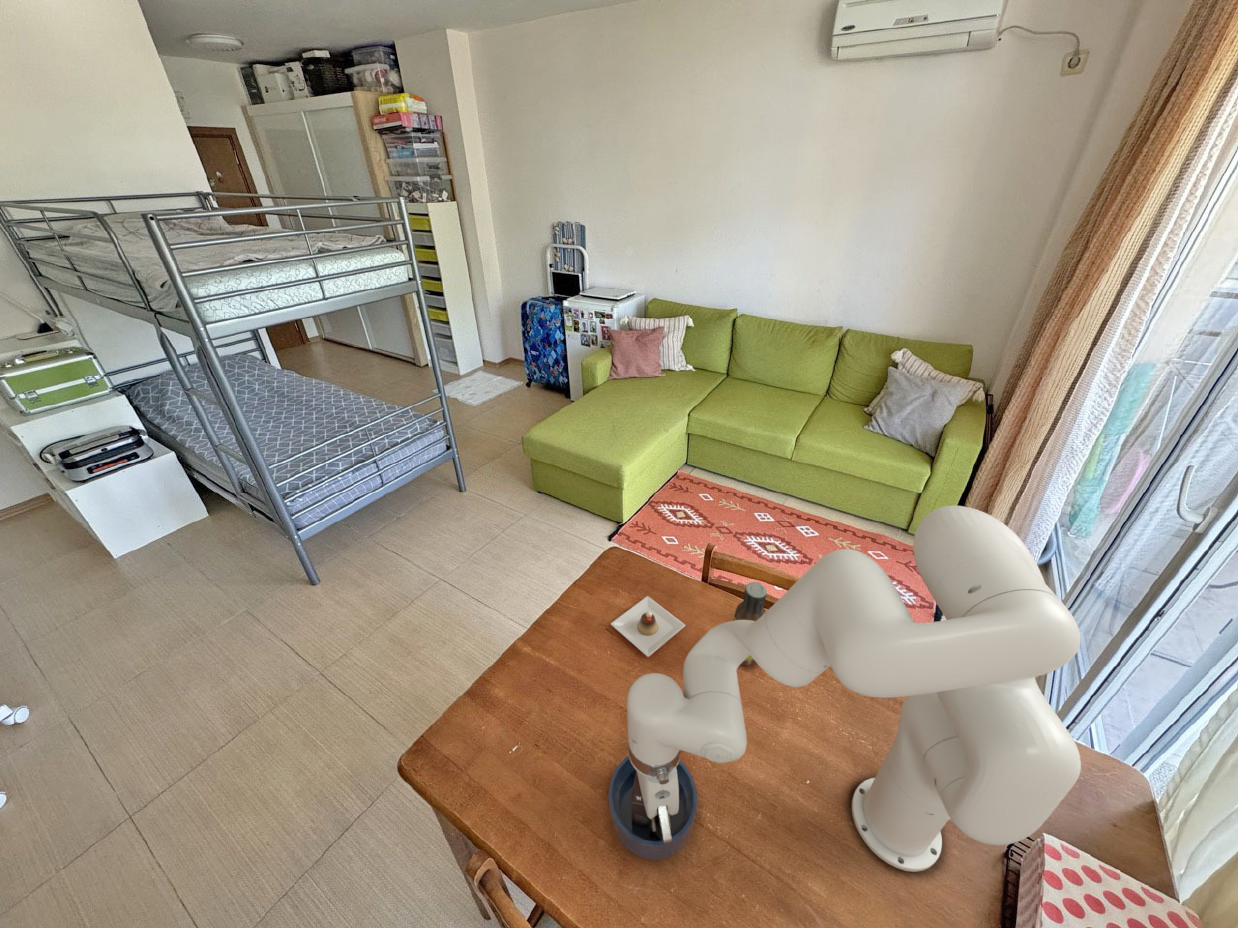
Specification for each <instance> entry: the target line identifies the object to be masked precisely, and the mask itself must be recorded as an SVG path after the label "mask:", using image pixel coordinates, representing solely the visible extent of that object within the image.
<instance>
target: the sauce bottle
mask: <svg viewBox="0 0 1238 928" xmlns="http://www.w3.org/2000/svg"><path fill="white" fill-rule="evenodd" d="M767 594H768V590H767V588H766V587H765V586H764V585H763V584H762V583H760V582H754V581H753V582H749V583H747V584H746V586H745V588H744V597H743V600H742V601H741V602H740V603H738V604H737V606H736V608H735V613H734V614H733V617H732V621H735V620H752V621H757V620H758V619H759V618H760V617H761V616H762V615H763V614H764V613H765V612H766V611H767V610H766V609H765V607H764V604H765V600H766V599H767ZM755 662H756V661H755V660H754V659H753V658H752V656H751V655H750V656H748V657H747V658H746V659H745V660H744V661H743V662H742V663H741V664H740V666H741V665H742V666H749V665H752V664H753V663H755Z"/></svg>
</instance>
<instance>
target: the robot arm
mask: <svg viewBox="0 0 1238 928" xmlns="http://www.w3.org/2000/svg"><path fill="white" fill-rule="evenodd" d="M912 548H913V549H912V551H913V559H914V562H915V566H916V569H917V571H918V573H919V576H920V578H921V580H922V581H923V584H924V585H925V587H926V588H927V590H928V592H929V593H930V595H931V596H932V598H933V600H934V602H935V604H936V605H937V607H938V609H939V610H940V611H941V613H942V614H943V616H944V618H945V619H944V620H938V621H928V622H915V620H914V618H913V616H912V615H911V613H910V611H909V609H908V607H907V606H906V604H905V602H904V600H903V598H902V597H901V595H900V593H899V592H898V590H897V587H896V586H895V584H894V582H893V581H892V579H891V577H889V575H888V574H887V572H886V571H885V570H884V568H883V567H882V566H881V565H879V563H878V562H877V561H875V559H874V558H872V557H871V556H869V555H867V554H865V553H864V552H861V551H859V550H855V549H852V548H840V549H836V550H832V551H831V552H829V553H827V554H825V555H824V556H822V557H821V558H820V559H819V560H817V561H816V562H815V563H813V565H812V566H811V567H810V568H809V569H808V570H807V571H806V572H805V573H804V574H803V575H802V576H801V577H800V578H799V579H798V580H796V582H794V583H793V585H792V586H790V588H789V589H788V590H787V591H785V593H784V594H783V595H781V597H780V598H778V600H777V601H776V602H774V604H772V606H771V607H769V608H768V609H766V610H765V611H766V612H765V613H764V614H763V615H762V616H761V617H760V618H759V619H758V620H757V621H752V620H735V621H733V620H730V621H726V622H722V623H720V624H717V625H715V626H712V627H711V628H710V629H709V630H708V631H707V632H706V633H705V634H704V635H703V636H702V637H701V638H700V639H699V640H698V641H697V642H696V643H695V644H694V645H693V647H692V648H691V649H690V650H689V652H688V653H687V655H686V657H685V659H684V662H683V666H682V667H683V668H682V686H683V687H682V688H683V689H681V687H680V685H679V683H677V681H676V680H674V678H672V677H670V676H668V675H667V674H663V673H661V672H660V673H659V672H650V673H645V674H643V675H641V676H640V677H638V678H636V680H635V681H634V682H632V684H631V686H630V687H629V689H628V693H627V698H626V716H627V719H626V721H627V722H626V723H627V754H628V755H629V759H630V762H631V764H632V765H633V767H634V768H635V769H636V770H637V775H638V780H639V784H640V789H641V793H642V797H643V801H644V805H645V809H646V813H647V817H648V818H650V819H651V821H650V823H649V837H650V838H654V837H656V839H657V840H659V839H662V841H663V843H664V844H665V843H669V842H672V837H671V829H670V828H671V821H670V815H675V814H677V813H678V810H679V786H678V776H677V769H676V767H677V765H678V763H679V760H680V759H681V754H682V753H681V751H682V752H685V753H688V754H690V755H694V756H697V757H700V758H703V759H706V760H707V761H709V762H713V763H717V764H726V763H730V762H735V761H737V760H739V759H740V758H742V757H743V756H744V754H745V752H746V750H747V745H748V738H747V737H748V736H747V729H746V724H745V723H746V722H745V718H744V717H745V716H744V710H743V705H742V697H741V692H740V685H739V677H738V672H737V671H738V668H739V667H740V666H741V663H742V662H743V661H744V660H745V659H746V658H747V657H748V656H750V655H751V656H752V658H753V659H754V660H755V661H754V662H755V663H756V664H757V665H758V667H760V668H761V670H762V671H763V672H765V674H767V675H768V676H769V677H770V678H772V680H774V681H776V682H778V683H780V684H782V685H784V686H787V687H791V688H801V687H805V686H808V685H809V684H811V683H812V682H813V681H814V680H815V679H817V677H819V676H820V675H822V674H823V673H824V672H825V671H826V670H827V669H829V668H830V667H831V669H832V672H833V674H834V676H835V677H836V679H837V680H838V682H840V683H841V685H842V686H843V687H845V688H846V689H847V690H849V691H851V692H853V693H855V694H859V695H861V696H864V697H870V698H881V699H884V698H885V699H891V698H903V697H905V698H904V700H903V701H902V705H901V709H900V712H899V713H900V714H899V719H898V720H899V721H898V727H897V732H896V735H895V737H894V739H893V742H892V744H891V745H890V748H889V750H888V751H887V753H886V755H885V758H884V759H883V761H882V763H881V766H880V767H879V769H878V772H877V773H876V775H875V777H870V778H868V779H865V780H863V781H862V782H861V783H860V784H859V785H858V786H857V788H856V789H855V790H854V792H853V796H852V799H851V816H852V819H853V822H854V825H855V828H856V830H857V832H858V834H859V836H860V837H861V838H862V840H863V842H864V843H865V845H866V846H867V847H869V849H870V850H871V851H872V852H873V853H874V854H875V855H876V856H877V857H878V858H879V859H880V860H882V861H884V862H885V863H886V864H888V865H890V866H892V867H894V868H896V869H898V870H902V871H905V872H910V873H911V872H912V873H916V872H917V873H918V872H923V871H926V870H927V869H930V868H932V866H934V864H935V863H936V862H937V861H938V859H939V858H940V855H941V853H942V848H943V838H942V837H943V836H942V829H943V828H944V827H945V825H946V824H947V823H948V822H949V821H951V822H952V823H953V824H954V825H955V827H956V828H957V829H959V831H960V832H961V833H963V834H964V835H966V836H967V837H969V838H970V839H972V840H975V841H977V842H979V843H981V844H986V845H990V846H1006V845H1011V844H1015V843H1018V842H1020V841H1023V840H1024V839H1026V838H1028V837H1030V836H1031V835H1033V834H1034V833H1035V832H1036V831H1037V830H1038V829H1039V828H1041V827H1042V825H1044V823H1045V822H1046V821H1047V820H1048V819H1049V817H1051V815H1052V813H1053V812H1054V811H1055V810H1056V808H1057V807H1058V806H1059V805H1060V803H1061V802H1062V801H1063V799H1065V798H1066V796H1067V795H1068V794H1069V792H1070V791H1071V789H1072V788H1073V787H1074V786H1075V784H1076V782H1077V781H1078V779H1079V778H1080V774H1081V771H1082V760H1081V754H1080V752H1079V748H1078V745H1077V744H1076V742H1075V740H1074V739H1073V736H1072V735H1071V734H1070V732H1069V730H1068V729H1067V728H1066V726H1065V724H1064V722H1062V720H1061V718H1060V717H1059V716H1058V715H1057V713H1056V712H1055V710H1054V709H1053V708H1052V706H1051V704H1050V703H1049V701H1048V700H1047V699H1046V697H1045V696H1044V694H1043V693H1042V691H1041V689H1040V687H1039V685H1038V683H1037V681H1036V678H1037V677H1041V676H1043V675H1047V674H1049V673H1052V672H1054V671H1057V670H1059V669H1060V668H1062V667H1064V666H1065V665H1066V664H1068V663H1070V662H1071V660H1073V658H1075V655H1076V654H1077V653H1078V651H1079V650H1080V649H1079V648H1080V646H1081V631H1080V627H1079V625H1078V623H1077V621H1076V620H1075V618H1074V616H1073V614H1072V613H1071V611H1070V610H1069V609H1068V608H1067V606H1066V605H1065V604H1064V603H1063V602H1062V600H1061V599H1060V598H1059V597H1058V595H1056V594H1055V592H1053V590H1052V589H1051V588H1050V587H1049V586H1048V585H1047V584H1046V582H1045V580H1044V579H1045V578H1044V577H1043V574H1042V572H1041V570H1040V568H1039V565H1038V564H1037V562H1036V559H1035V558H1034V556H1033V555H1032V553H1031V552H1030V550H1029V549H1028V548H1027V546H1026V545H1025V543H1024V542H1023V541H1022V540H1021V538H1020V537H1019V536H1018V535H1017V533H1016V532H1014V530H1012V529H1011V528H1010V527H1009V526H1007V525H1006V524H1005V523H1003V522H1002V521H1001V520H999V519H998V518H996V517H994V516H992V515H991V514H988V513H987V512H984V511H982V510H980V509H977V508H973V507H968V506H964V505H944V506H940V507H937V508H935V509H933V510H932V511H930V512H929V513H927V514H926V515H925V516H924V517H923V518H922V519H921V521H920V522H919V524H918V526H917V528H916V530H915V531H914V537H913V543H912ZM628 755H627V756H628ZM680 761H681V760H680ZM657 815H658V816H659V819H656V820H655V816H657Z"/></svg>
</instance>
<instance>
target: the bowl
mask: <svg viewBox="0 0 1238 928" xmlns="http://www.w3.org/2000/svg"><path fill="white" fill-rule="evenodd" d="M676 769H677V776H678V786H679V810H678V813H677V814H675V815H671V818H670V821H671V828H670V829H671V837H672V842H669V843H665V844H664V843H663V841H662V839H659V840H657V839H656V837H654V838H650V837H649V828H647V827H642V826H637V825H633V824H632V814H631V813H632V812H631V800H632V794H633V788H634V781H635V775H636V769H635V768H634V767H633V765H632V764H631V762H630V759H629V755H627V756H625V757H624V758H623V759H622V760H621V761H620V762H619V764H618V765H617V766H616V768H615V769H614V771H613V773H612V776H611V778H610V781H609V787H608V793H607V794H608V795H607V798H608V807H609V808H608V811H609V817H610V818H609V819H610V823H611V827H612V829H613V831H614V833H615V835H616V838H617V839H618V841H619V842H620V843H621V844H622V845H623V846H624V847H625V848H626V849H627V850H628V852H630V853H632V854H633V855H636V856H637V857H639V858H641V859H646V860H653V861H658V860H662V859H667V858H671V857H672V856H673V855H675V854H677V853H678V852H680V851H681V850H682V849H683V848H684V847H685V846H686V844H687V842H688V841H689V840H690V839H691V836H692V833H693V830H694V827H695V823H696V818H697V810H698V790H697V787H696V784H695V783H696V782H695V781H694V777H693V775H692V774H691V772H690V771H689V769H688V766H686V764H685V763H684V762H683V761H681V760H679V763H678V765H677V767H676Z"/></svg>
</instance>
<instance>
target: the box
mask: <svg viewBox="0 0 1238 928" xmlns="http://www.w3.org/2000/svg"><path fill="white" fill-rule="evenodd" d="M631 812H632V813H631V814H632V824H633V825H637V826H642V827H647V828H649V823H650V821H651V819H650V818H648V817H647V813H646V809H645V805H644V801H643V797H642V793H641V789H640V784H639V780H638V775H637V770H636V775H635V781H634V788H633V794H632V800H631ZM670 818H671V815H670ZM656 819H659V816H658V815H657V816H655V820H656Z"/></svg>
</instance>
